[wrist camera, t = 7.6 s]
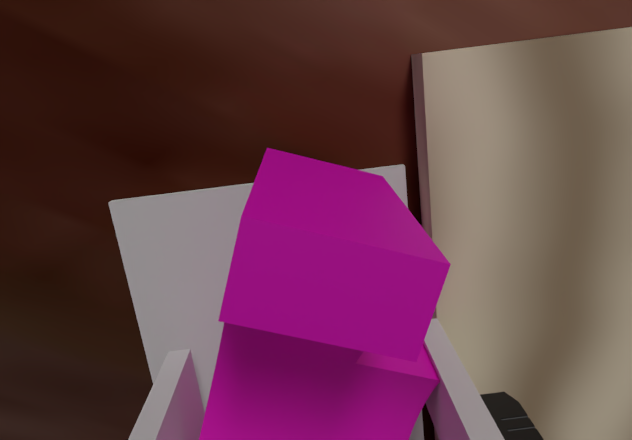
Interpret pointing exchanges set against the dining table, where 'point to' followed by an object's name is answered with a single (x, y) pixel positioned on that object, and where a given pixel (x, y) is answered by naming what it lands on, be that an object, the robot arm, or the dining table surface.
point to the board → (535, 221)
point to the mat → (191, 268)
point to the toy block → (324, 310)
